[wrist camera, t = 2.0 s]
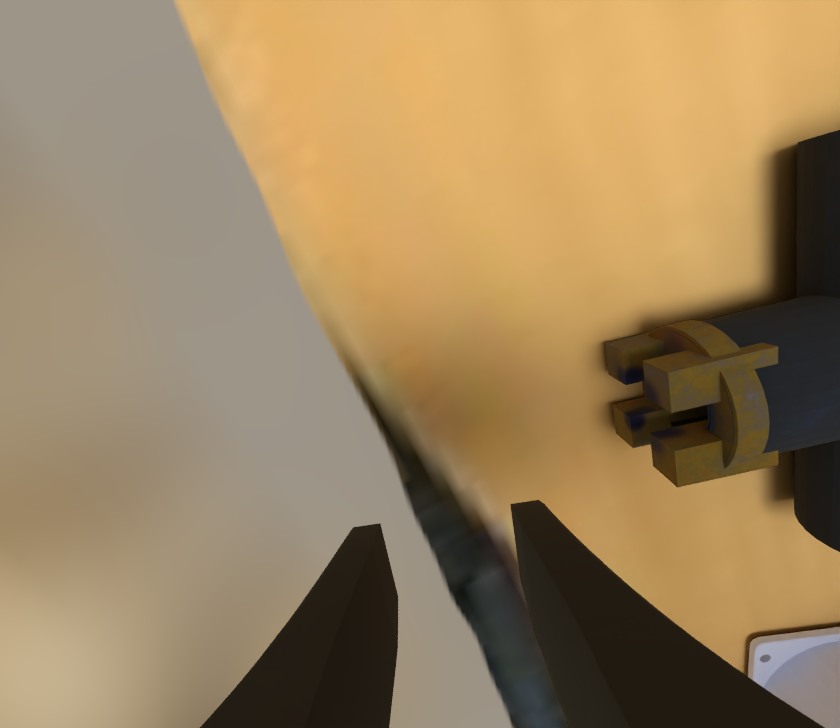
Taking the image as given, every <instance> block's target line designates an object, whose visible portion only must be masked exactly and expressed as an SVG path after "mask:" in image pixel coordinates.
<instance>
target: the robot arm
mask: <svg viewBox="0 0 840 728" xmlns="http://www.w3.org/2000/svg"><path fill="white" fill-rule="evenodd" d="M511 511H512V519H513V526H514V534H515V541H516V549H517V556H518V564H519V571H520V579H521V583H522V587H523V591H524V595H525V599H526V602H527V606H528V610H529V614H530V618H531V621H532V625H533V629H534V632H535V635H536V638H537V640H538V643H539V646H540V649H541V651H542V654H543V657H544V660H545V662H546V665H547V668H548V671H549V673H550V676H551V679H552V682H553V684H554V687H555V690H556V693H557V695H558V698H559V701H560V704H561V706H562V709H563V712H564V714H565V717H566V720H567V723H568V725H569V728H840V627H834V628H826V629H818V630H810V631H802V632H794V633H786V634H778V635H770V636H762V637H757V638H755V639H753V640H752V641H751V643H750V651H749V666H748V676H746V675H745V674H743V673H742V672H740V671H739V670H737V669H736V668H735V667H733V666H732V665H730V664H729V663H728V662H726V661H725V660H723V659H722V658H721V657H719V656H718V655H717V654H715V653H714V652H712V651H711V650H710V649H708V648H707V647H706V646H704V645H703V644H702V643H700V642H699V641H697V640H696V639H695V638H693V637H692V636H691V635H690V634H688V633H687V632H686V631H684V630H683V629H682V628H680V627H679V626H678V625H677V624H675V623H674V622H673V621H671V620H670V619H669V618H668V617H666V616H665V615H664V614H663V613H661V612H660V611H659V610H658V609H656V608H655V607H654V606H653V605H652V604H650V603H649V602H648V601H647V600H646V599H644V598H643V597H642V596H641V595H639V594H638V593H637V592H636V591H635V590H633V589H632V588H631V587H630V586H629V585H628V584H627V583H625V582H624V581H623V580H622V579H621V578H620V577H618V576H617V575H616V574H615V573H614V572H613V571H612V570H611V569H610V568H608V567H607V566H606V565H605V564H604V563H603V562H602V561H601V560H600V559H599V558H597V557H596V556H595V555H594V554H593V553H592V552H591V551H590V550H589V549H588V548H587V547H586V546H585V545H584V544H583V543H581V542H580V541H579V540H578V539H577V538H576V537H575V536H574V535H573V534H572V533H571V532H570V531H569V530H568V529H567V528H566V527H565V526H564V525H563V524H562V523H561V522H560V520H559V519H558V518H557V517H556V516H555V515H554V514H553V513H552V512H551V511H550V510H549V509H548V508H547V507H546V505H545V504H543V503H542V502H541V501H539V500H536V501H529V502H522V503H515V504H511ZM397 648H398V595H397V591H396V587H395V582H394V578H393V574H392V570H391V566H390V562H389V558H388V554H387V549H386V545H385V541H384V537H383V533H382V529H381V525H380V524H374V525H367V526H360V527H354V528H353V529H352V530H351V531H350V533H349V535H348V536H347V537H346V539H345V540H344V542H343V543H342V545H341V546H340V548H339V549H338V551H337V552H336V554H335V555H334V557H333V558H332V560H331V561H330V563H329V564H328V566H327V567H326V568H325V570H324V572H323V573H322V574H321V576H320V577H319V579H318V580H317V582H316V583H315V585H314V586H313V587H312V589H311V590H310V592H309V593H308V594H307V596H306V597H305V599H304V600H303V602H302V603H301V605H300V606H299V607H298V609H297V610H296V611H295V613H294V614H293V616H292V617H291V618H290V620H289V621H288V622H287V623H286V625H285V626H284V628H283V629H282V630H281V631H280V633H279V634H278V635H277V636H276V638H275V639H274V640H273V642H272V643H271V644H270V646H269V647H268V648H267V649H266V651H265V652H264V653H263V655H262V656H261V657H260V659H259V660H258V661H257V662H256V663H255V665H254V666H253V667H252V668H251V670H250V671H249V672H248V673H247V675H246V676H245V677H244V678H243V679H242V681H241V682H240V683H239V684H238V685H237V687H236V688H235V689H234V690H233V691H232V692H231V694H230V695H229V696H228V697H227V698H226V699H225V700H224V701H223V703H222V704H221V705H220V706H219V707H218V708H217V709H216V710H215V712H214V713H213V714H212V715H211V716H210V718H208V720H207V721H206V722H205V723H204V724H203V725H202V726H201V727H200V728H389V723H390V714H391V705H392V696H393V687H394V677H395V667H396V658H397Z"/></svg>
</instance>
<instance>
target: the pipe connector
mask: <svg viewBox="0 0 840 728" xmlns="http://www.w3.org/2000/svg"><path fill="white" fill-rule="evenodd" d="M605 349H606V357H607V365H608V373H609V375H610V376H612V377H614V378H615V379H617V380H619V381H620V382H622V383H623V384H625V385H628V384H632V383H637V382H641V381H643V390H644V397H642V398H638V399H633V400H629V401H625V402H621V403H616V404H613V412H614V420H615V428H616V433H617V434H618V435H619V436H620V437H621V438H622V439H623V440H625V441H626V442H627V443H628V444H629V445H630V446H631V447H632V448H636V447H640V446H644V445H649V444H651V448H652V458H653V466H654V467H655V468H656V469H657V470H659V471H660V472H661V473H662V474H663V475H664V476H665V477H666V478H668V479H669V480H670V481H671V482H672V483H673V484H674V485H676V486H677V487H681V486H686V485H690V484H695V483H699V482H704V481H708V480H713V479H717V478H722V477H726V476H731V475H735V474H740V473H744V472H749V471H753V470H758V469H762V468H767V467H772V466H776V465H778V453H783V452H787V451H792V450H795V470H794V510H795V515H796V517H797V519H798V521H799V523H800V524H801V525H802V526H803V527H804V528H805V530H806V531H808V532H809V533H810V534H811V535H813V536H814V537H815V538H816V539H818V540H819V541H821V542H823V543H824V544H826V545H827V546H829V547H831V548H833V549H835V550H837V551H839V552H840V130H838V131H834V132H831V133H828V134H824V135H821V136H817V137H814V138H811V139H808V140H804V141H801V142H798V158H797V262H796V298H795V299H791V300H787V301H783V302H779V303H775V304H770V305H766V306H762V307H758V308H754V309H750V310H746V311H742V312H737V313H733V314H729V315H725V316H721V317H717V318H713V319H709V320H705V321H696V320H688V321H683V322H679V323H674V324H670V325H666V326H662V327H658V328H656V329H654V330H652V331H651V332H649V333H645V334H641V335H636V336H632V337H628V338H624V339H620V340H616V341H612V342H608V343H605Z"/></svg>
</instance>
